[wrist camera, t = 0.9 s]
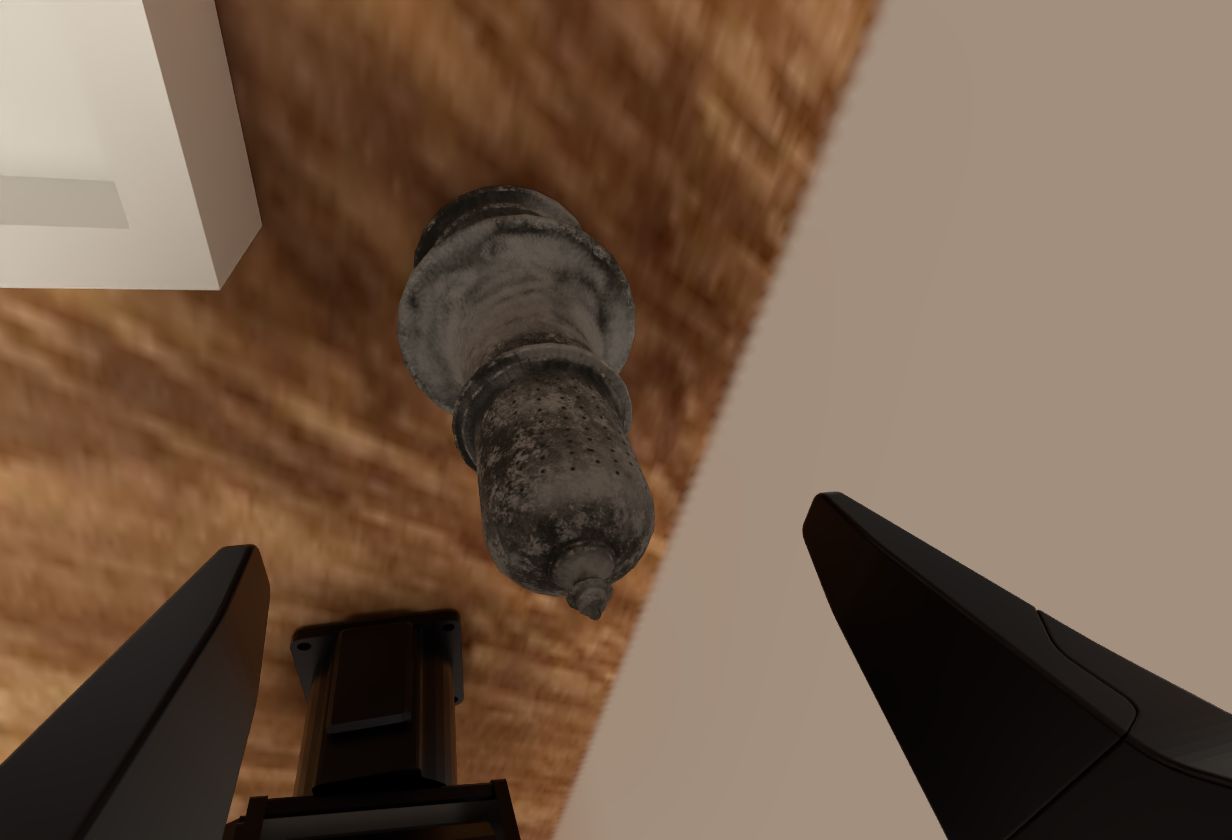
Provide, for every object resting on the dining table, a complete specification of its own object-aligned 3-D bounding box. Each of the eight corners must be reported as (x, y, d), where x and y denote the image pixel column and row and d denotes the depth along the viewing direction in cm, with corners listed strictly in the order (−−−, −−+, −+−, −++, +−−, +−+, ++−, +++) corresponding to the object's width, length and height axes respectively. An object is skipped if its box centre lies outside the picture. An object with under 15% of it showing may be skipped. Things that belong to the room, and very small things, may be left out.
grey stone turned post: (512, 123, 15) (641, 357, 6) (641, 282, 19) (851, 584, 10) (355, 273, 17) (261, 661, 7) (503, 396, 20) (570, 764, 11)
